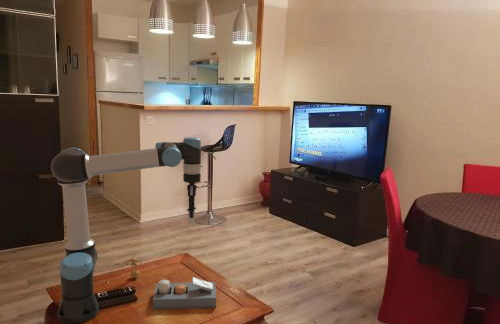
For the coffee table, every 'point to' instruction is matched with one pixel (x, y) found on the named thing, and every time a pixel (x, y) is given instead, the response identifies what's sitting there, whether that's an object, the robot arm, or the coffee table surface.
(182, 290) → the button right
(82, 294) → the robot arm
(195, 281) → the block
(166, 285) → the button left
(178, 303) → the grey slotted block
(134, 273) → the figurine
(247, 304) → the coffee table surface
